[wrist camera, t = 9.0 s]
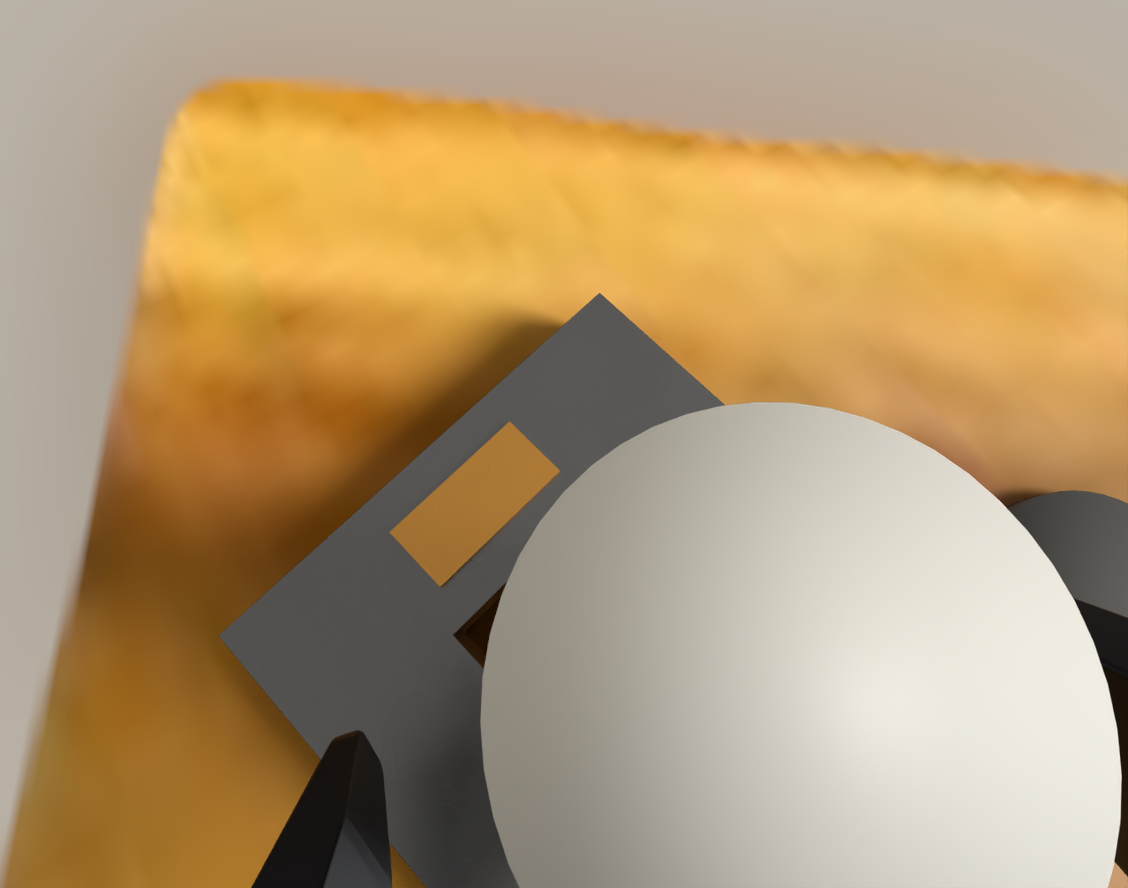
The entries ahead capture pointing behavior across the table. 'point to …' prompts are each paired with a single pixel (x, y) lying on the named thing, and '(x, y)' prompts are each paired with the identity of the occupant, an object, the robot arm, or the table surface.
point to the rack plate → (450, 583)
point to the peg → (793, 673)
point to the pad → (1082, 543)
